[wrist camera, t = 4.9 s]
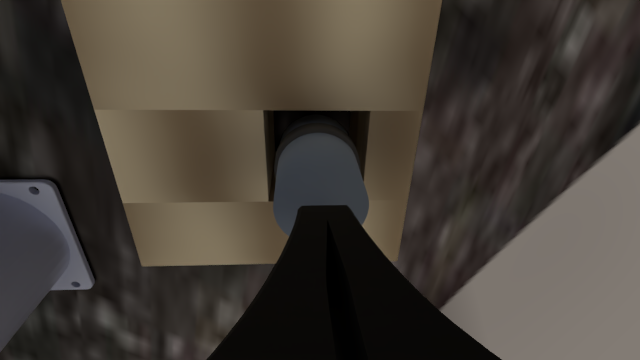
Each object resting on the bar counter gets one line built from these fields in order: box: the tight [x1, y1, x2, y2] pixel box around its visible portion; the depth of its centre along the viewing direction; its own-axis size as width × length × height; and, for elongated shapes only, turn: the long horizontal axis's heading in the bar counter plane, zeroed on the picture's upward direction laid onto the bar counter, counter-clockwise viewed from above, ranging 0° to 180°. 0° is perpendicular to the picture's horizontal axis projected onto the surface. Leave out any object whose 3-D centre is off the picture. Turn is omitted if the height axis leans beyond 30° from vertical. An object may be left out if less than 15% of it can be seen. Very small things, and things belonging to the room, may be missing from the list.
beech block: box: [61, 0, 442, 266], centre depth 14 cm, size 12×20×5 cm, turn 179°
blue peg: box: [273, 115, 369, 236], centre depth 13 cm, size 3×3×4 cm
